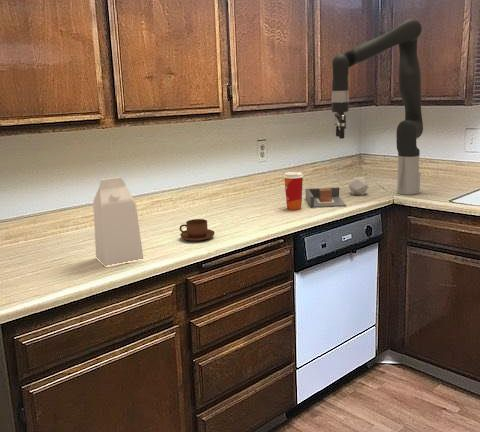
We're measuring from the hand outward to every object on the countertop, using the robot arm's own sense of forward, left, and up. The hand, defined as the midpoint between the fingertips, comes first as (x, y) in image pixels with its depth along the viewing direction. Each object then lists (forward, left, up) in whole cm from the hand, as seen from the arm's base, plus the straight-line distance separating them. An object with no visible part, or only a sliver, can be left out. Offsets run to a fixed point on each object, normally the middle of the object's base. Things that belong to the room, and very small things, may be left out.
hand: (340, 137), depth 247 cm
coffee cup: (+24, +26, -26) cm, 44 cm away
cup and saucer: (+62, +65, -26) cm, 93 cm away
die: (-8, +3, -26) cm, 28 cm away
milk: (+85, +85, -26) cm, 123 cm away
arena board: (+10, +17, -26) cm, 33 cm away
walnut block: (+10, +17, -25) cm, 32 cm away
